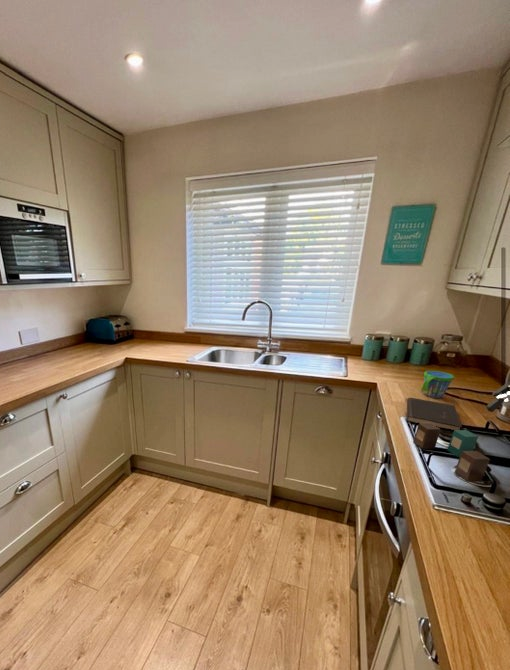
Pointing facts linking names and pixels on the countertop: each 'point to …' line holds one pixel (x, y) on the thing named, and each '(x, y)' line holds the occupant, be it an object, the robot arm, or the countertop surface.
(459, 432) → the teal block
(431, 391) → the snack cup
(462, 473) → the walnut block
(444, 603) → the countertop surface
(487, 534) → the countertop surface
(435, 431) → the walnut block
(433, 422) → the hardcover book
